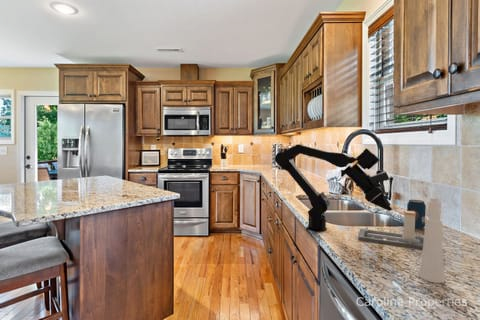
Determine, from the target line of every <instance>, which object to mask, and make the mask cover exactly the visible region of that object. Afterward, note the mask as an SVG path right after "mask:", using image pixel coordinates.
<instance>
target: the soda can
mask: <svg viewBox="0 0 480 320" xmlns="http://www.w3.org/2000/svg"><path fill="white" fill-rule="evenodd" d="M406 207H407V208H406V211H414V212H415V213H416V216H415V230H423V229H425V222H426V210H427V209H426V208H427V207H426V203H425V201H424V200H420V199H409V200H408V202H407V203H406Z"/></svg>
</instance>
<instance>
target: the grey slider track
mask: <svg viewBox="0 0 480 320" xmlns="http://www.w3.org/2000/svg"><path fill="white" fill-rule="evenodd" d="M402 235H403V233H401V232H400V233H399V232H391V231H383V230H378V229H377V230H376V229H375V230H374V229H370V228H368V227H364V228H359V231H358V241H363V242H370V243H377V244H383V245H391V246H395V247H396V246H397V247H403V248H412V249H419V250H423V242H424V235H423V234H422V233H421V234H420V233H419V234H418V235H414V237H415V238H416V240H415V239H407V238H402V237H401V236H402Z"/></svg>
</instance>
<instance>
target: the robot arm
mask: <svg viewBox="0 0 480 320" xmlns="http://www.w3.org/2000/svg"><path fill="white" fill-rule="evenodd" d="M299 155H304V156H308V157H311V158H315V159H318V160H319V159H320V160H322V161H325V162H327V163H329V164H330V165H334V166H336V167H337V168H344V167H345V169H340V177H342V178H343V177H344V176H345V175H346V176H347V177H348V178H349V179H350V180H351V181H352V182H353V183H354V184H355V186H356V187H358V188H359V189H360V190H361V191H362V192H363V194H364V199H365V200H366V201H367V203H370V204H373V205H374V206H378V207H380V208H382V209H385V211H386V210H387V211H389V212H391V211H392V210H393V209H392V207H391V203H390V201H389V200H388V199H387V197H386V196H385V194H384V188H383V187H384V186H382V184H381V183H382V182H385V181H389V180H390V177H389V175H388V173H387V171H386V170H385V171H383V170H380V169H379V170H376V174H374V175H372V176H371V175H370V174H367V173H366V172H365V171H366V169H367V170H371V169H372V168H373V167H374V166H376V164H377V163H379V162H380V161H381V159H380V158H379V157H378V156H377V155H376V154H375V153H373V152H372V151H370V149H368V148H367V147H366V148H365V149H363V151H362V152H361V153H360V154H359V155H357V157H355V156H349V154H347V153H345V152H335V151H334V152H332V151H325V150H321V149H318V148H315V147H310V146H306V145H303V144H300V143H299V144H295V145H294V146H292V147H290V148H288V149H286V150H285V151H283V152H282V151H280V152H278V153H276V155H275V158H274V161H275V163H276V164H277V165H278V166H279V167H280V168H282V169H283V170H284V171H285V172H287V173H288V174H289V175H290V176H291V178H292V179H293V180H294V181H295V182H296V184H297V185H298V186H299V188H300V189H301V190H302V191H303V192H304V194H305V195H306V196H307V198H308V199H309V203H310V205H311V207H312V208H310V209H309V210H308V211H307V213H308V226H306V227H305V228H306V229H307V230H311V231H314V232H317V233H320V232H323V231H326V230H328V228H327V227H326V223H327V219H326V215H325V213H326V212H327V211H328V210H329V209H330V207H331V203H330V198H329V197H327V196H326V193H324V191H322V192H321V193H320V192H319V191H317V190H316V189H315V187H314V186H313V185H312V184H311V183H310V181H309V180H308V179H307V178H306V176H305V175H304V174H303V173H302V172H301V170H300V169H299V168H298V166H296V162H295V161H294V159H295V158H296V157H297V156H299ZM356 161H357V162H356ZM353 163H354V164H353ZM349 164H350V165H349ZM351 164H353V165H352V166H351ZM364 170H365V171H364Z"/></svg>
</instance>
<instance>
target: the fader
mask: <svg viewBox="0 0 480 320" xmlns="http://www.w3.org/2000/svg"><path fill="white" fill-rule="evenodd" d="M415 216H416V213H415V212H414V211H407V210H403V233H402V234H403V235H402V236H401V237H402V238H407V239H415V240H416V238H415V237H414V235H415V234H416V233H415V231H416V229H415Z"/></svg>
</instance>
